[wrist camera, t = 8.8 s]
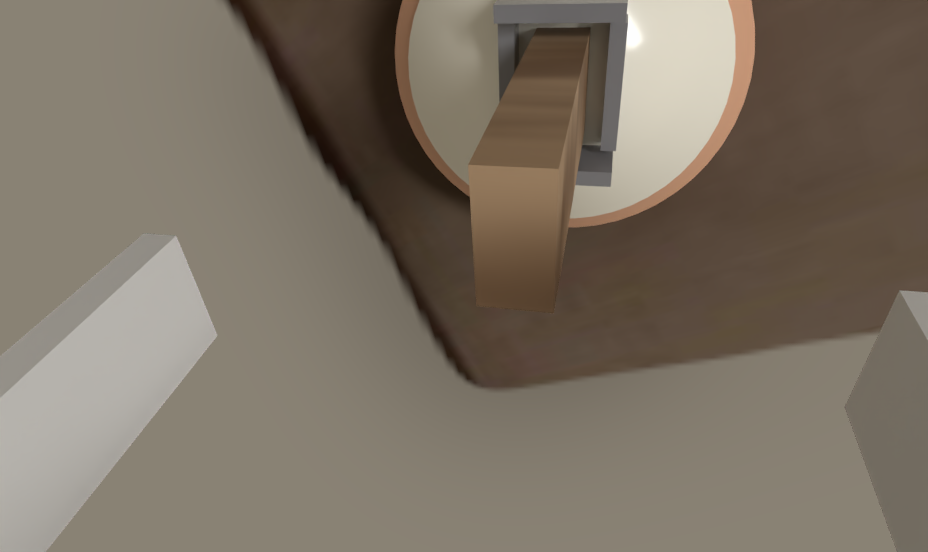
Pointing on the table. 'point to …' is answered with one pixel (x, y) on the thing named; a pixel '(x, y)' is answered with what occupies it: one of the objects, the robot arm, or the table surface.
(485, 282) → the tall wooden post
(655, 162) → the peach disc
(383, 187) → the table surface
